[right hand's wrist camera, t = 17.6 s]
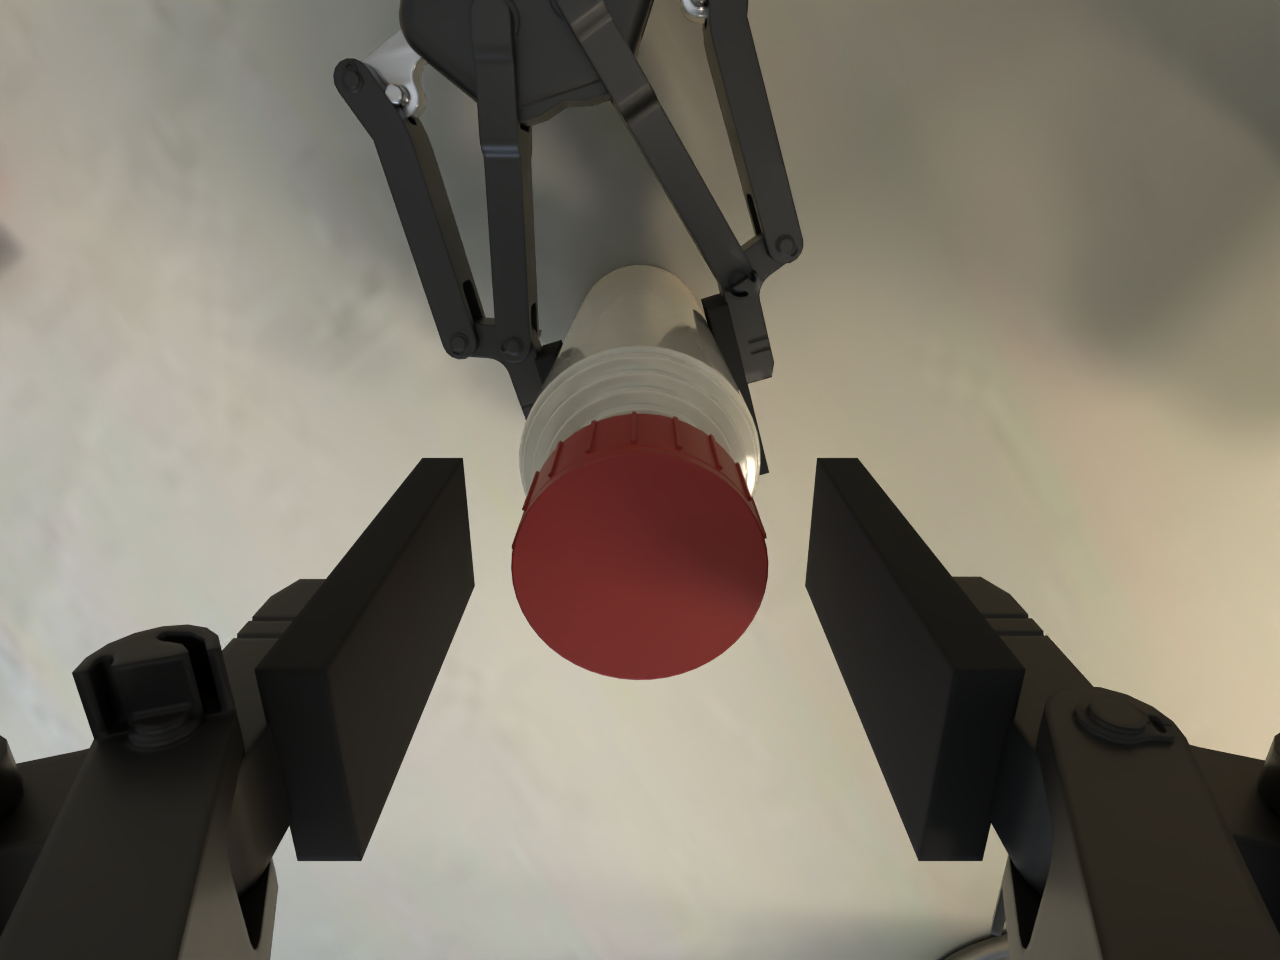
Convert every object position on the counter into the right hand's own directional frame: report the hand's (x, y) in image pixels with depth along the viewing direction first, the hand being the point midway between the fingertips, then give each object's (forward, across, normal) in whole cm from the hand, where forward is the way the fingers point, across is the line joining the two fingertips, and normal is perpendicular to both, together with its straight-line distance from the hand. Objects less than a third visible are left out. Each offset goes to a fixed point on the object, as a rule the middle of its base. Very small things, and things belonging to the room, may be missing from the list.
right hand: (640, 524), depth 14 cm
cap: (-2, 0, 0) cm, 2 cm away
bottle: (+21, 0, 0) cm, 21 cm away
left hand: (+15, -1, +5) cm, 15 cm away
